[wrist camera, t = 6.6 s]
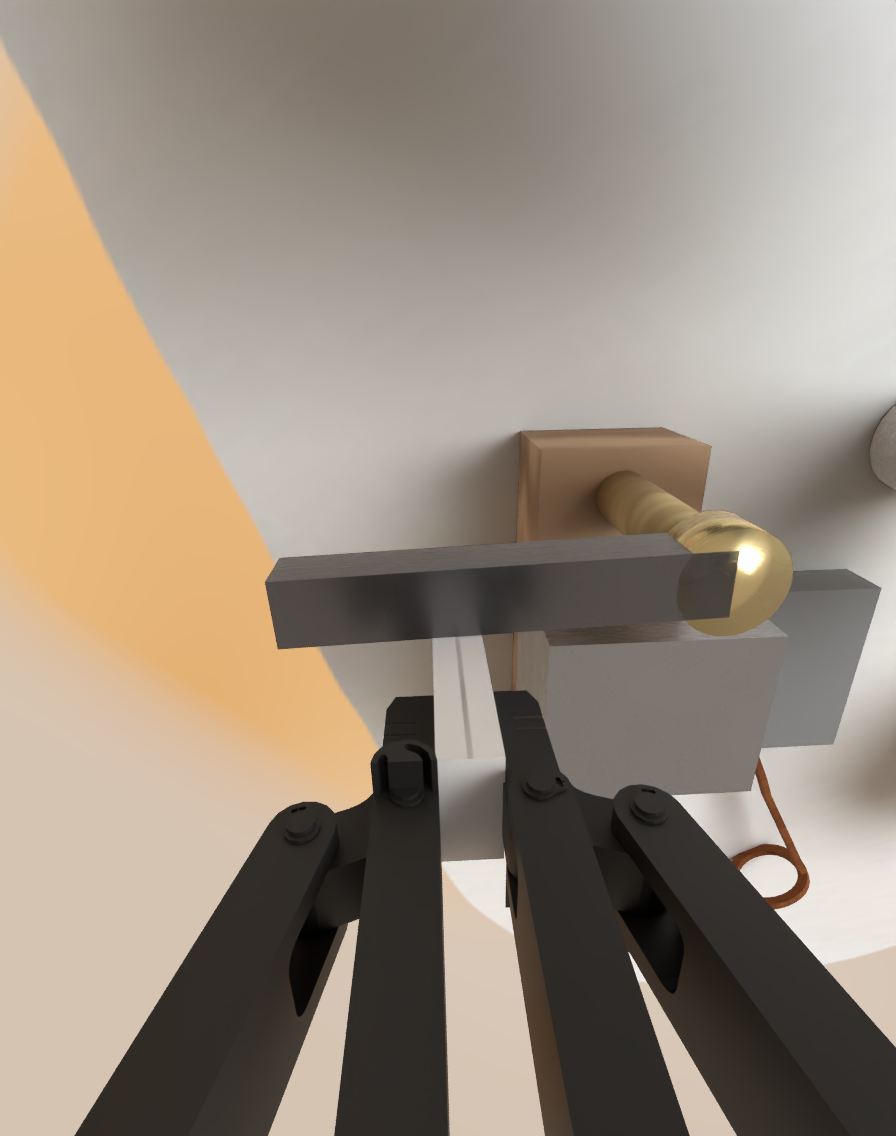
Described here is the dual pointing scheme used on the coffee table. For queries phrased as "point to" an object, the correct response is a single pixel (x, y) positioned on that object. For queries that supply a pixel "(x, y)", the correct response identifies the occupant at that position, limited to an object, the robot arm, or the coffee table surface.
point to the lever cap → (653, 703)
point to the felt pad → (818, 654)
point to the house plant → (885, 449)
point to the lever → (536, 586)
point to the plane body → (606, 484)
